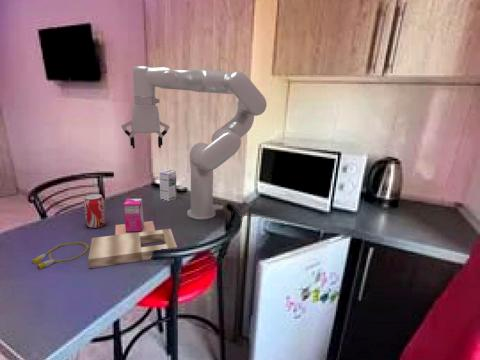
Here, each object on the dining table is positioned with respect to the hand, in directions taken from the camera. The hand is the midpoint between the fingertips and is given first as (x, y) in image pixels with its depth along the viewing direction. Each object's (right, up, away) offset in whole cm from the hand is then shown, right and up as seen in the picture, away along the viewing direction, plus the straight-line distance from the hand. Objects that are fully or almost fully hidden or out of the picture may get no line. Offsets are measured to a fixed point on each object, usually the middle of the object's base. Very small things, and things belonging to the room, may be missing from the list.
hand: (146, 147), depth 114 cm
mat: (-4, -32, -2) cm, 32 cm away
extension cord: (-21, -37, -19) cm, 47 cm away
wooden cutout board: (+1, -36, -15) cm, 39 cm away
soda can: (-20, -30, +1) cm, 36 cm away
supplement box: (-4, -31, -2) cm, 32 cm away
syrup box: (0, -22, +33) cm, 40 cm away
